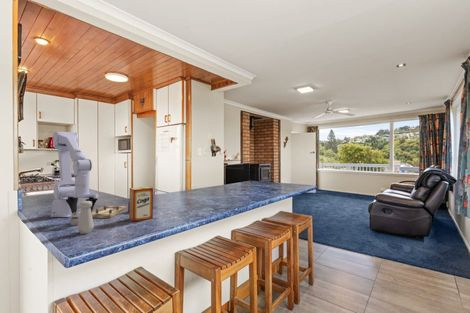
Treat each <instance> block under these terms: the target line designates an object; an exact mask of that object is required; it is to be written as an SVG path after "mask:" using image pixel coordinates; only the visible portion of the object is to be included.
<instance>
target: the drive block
mask: <svg viewBox="0 0 470 313" xmlns="http://www.w3.org/2000/svg"><path fill="white" fill-rule="evenodd" d="M76 212H77V211H76ZM80 213H81V210H80V211H78V212H77V213H74V214H71V216H70V226H78V223H79V218H80Z"/></svg>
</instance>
